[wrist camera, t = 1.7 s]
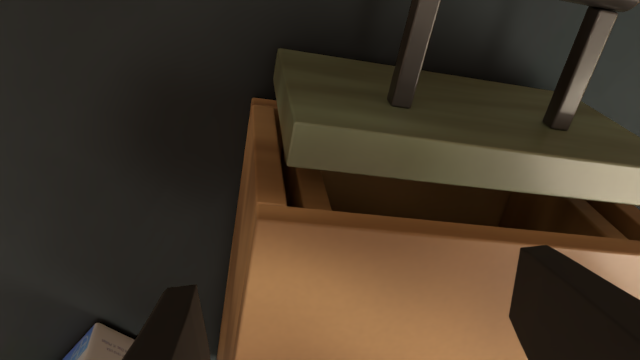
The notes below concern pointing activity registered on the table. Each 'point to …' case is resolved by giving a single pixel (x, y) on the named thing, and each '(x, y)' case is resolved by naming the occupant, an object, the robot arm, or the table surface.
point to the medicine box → (100, 345)
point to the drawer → (455, 138)
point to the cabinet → (381, 274)
